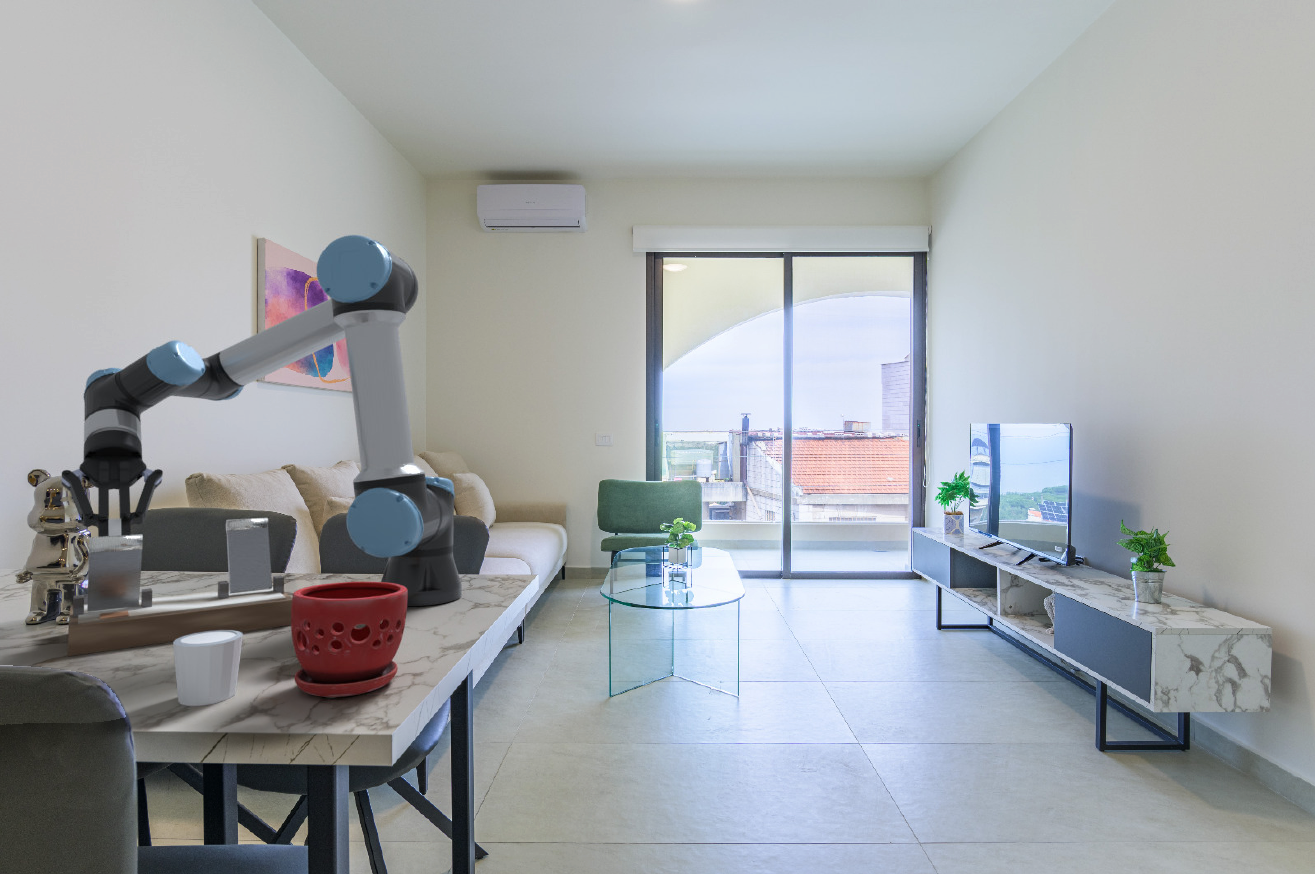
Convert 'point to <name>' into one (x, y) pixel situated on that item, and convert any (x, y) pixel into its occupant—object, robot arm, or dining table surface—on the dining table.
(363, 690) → the plant pot
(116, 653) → the dining table surface
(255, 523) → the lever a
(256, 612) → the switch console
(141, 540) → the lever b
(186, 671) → the white cup
